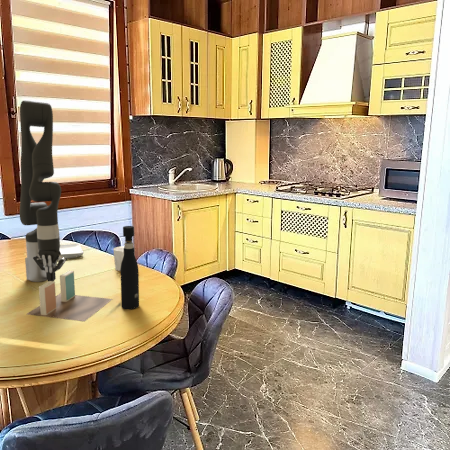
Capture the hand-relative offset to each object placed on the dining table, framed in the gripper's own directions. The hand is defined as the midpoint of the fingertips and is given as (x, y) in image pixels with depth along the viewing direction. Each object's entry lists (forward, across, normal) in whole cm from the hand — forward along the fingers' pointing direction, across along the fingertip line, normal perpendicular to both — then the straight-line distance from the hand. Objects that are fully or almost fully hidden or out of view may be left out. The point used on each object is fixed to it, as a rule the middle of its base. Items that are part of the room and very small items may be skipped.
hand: (51, 281), depth 155 cm
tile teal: (+6, +7, 0) cm, 9 cm away
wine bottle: (+8, +31, +2) cm, 32 cm away
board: (+8, +12, -6) cm, 15 cm away
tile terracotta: (+6, +7, -12) cm, 15 cm away
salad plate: (+8, -32, +55) cm, 64 cm away
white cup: (+8, +8, +42) cm, 44 cm away
